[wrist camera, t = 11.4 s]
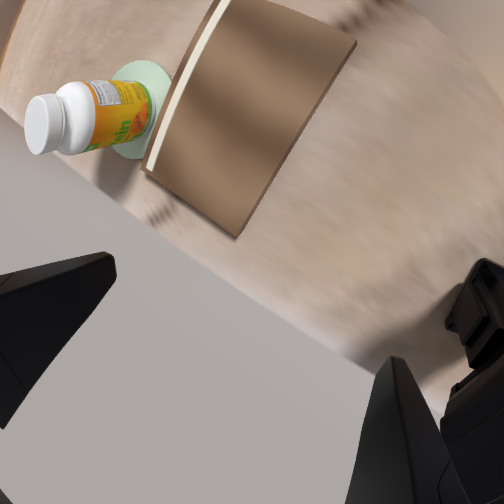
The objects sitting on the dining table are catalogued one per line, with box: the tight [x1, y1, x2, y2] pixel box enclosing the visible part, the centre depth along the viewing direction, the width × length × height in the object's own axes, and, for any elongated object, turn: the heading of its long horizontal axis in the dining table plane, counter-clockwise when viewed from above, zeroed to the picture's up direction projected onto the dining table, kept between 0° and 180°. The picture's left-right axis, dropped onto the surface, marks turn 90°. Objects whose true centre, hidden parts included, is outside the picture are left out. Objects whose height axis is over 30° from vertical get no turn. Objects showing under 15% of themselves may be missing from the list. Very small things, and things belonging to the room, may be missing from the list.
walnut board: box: [140, 0, 357, 237], centre depth 17 cm, size 16×10×1 cm, turn 151°
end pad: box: [111, 60, 172, 159], centre depth 21 cm, size 9×9×1 cm
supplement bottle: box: [24, 80, 156, 155], centre depth 16 cm, size 5×5×10 cm
